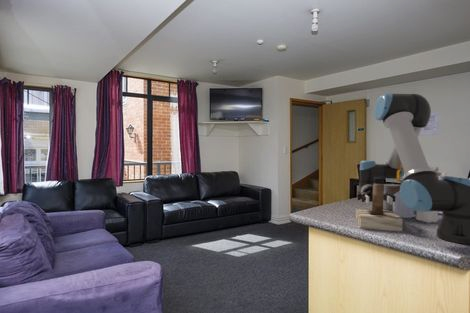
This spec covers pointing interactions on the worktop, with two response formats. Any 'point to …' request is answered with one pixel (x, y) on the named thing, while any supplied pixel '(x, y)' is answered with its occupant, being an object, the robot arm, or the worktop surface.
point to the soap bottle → (401, 202)
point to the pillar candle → (390, 190)
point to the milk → (427, 216)
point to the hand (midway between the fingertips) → (379, 200)
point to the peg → (378, 199)
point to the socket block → (379, 220)
